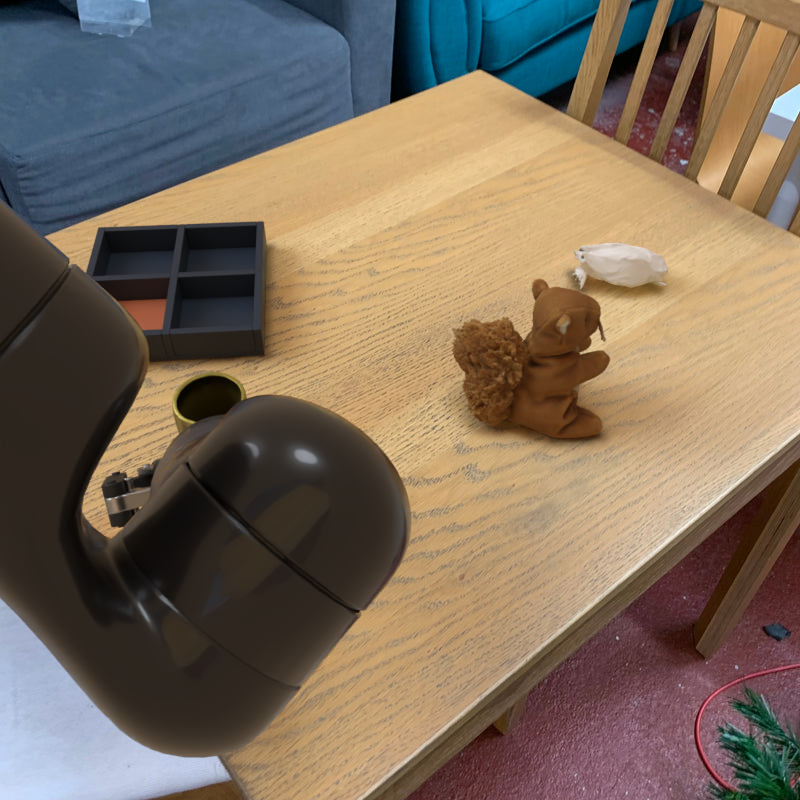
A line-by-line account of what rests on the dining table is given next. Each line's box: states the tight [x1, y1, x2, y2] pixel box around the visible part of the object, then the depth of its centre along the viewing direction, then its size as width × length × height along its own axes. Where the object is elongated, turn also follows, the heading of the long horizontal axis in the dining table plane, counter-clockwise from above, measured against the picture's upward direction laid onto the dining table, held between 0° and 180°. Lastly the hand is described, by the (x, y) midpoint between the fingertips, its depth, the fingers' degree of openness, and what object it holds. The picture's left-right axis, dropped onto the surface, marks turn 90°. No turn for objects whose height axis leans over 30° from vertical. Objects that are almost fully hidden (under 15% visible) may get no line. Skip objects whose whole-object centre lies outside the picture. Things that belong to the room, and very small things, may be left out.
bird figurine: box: [571, 242, 669, 289], centre depth 85 cm, size 5×7×10 cm
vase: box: [171, 371, 248, 435], centre depth 60 cm, size 6×6×14 cm
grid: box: [85, 220, 268, 363], centre depth 82 cm, size 18×18×4 cm
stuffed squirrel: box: [451, 278, 611, 439], centre depth 69 cm, size 10×14×13 cm
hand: (223, 460), depth 54 cm, fingers open, 8 cm apart
